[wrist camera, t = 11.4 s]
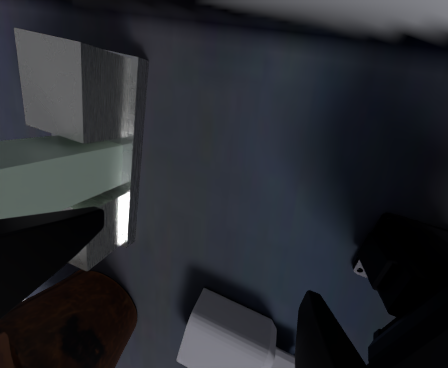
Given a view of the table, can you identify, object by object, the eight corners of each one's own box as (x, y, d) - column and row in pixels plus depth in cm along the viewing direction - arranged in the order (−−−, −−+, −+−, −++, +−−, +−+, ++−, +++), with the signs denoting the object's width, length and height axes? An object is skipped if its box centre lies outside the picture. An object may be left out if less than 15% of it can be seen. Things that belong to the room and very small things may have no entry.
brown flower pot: (46, 299, 39) (-130, 437, 22) (74, 227, 31) (-171, 361, 14) (124, 361, 38) (2, 549, 22) (173, 304, 30) (37, 536, 14)
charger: (294, 382, 28) (190, 329, 30) (325, 339, 24) (205, 283, 27) (295, 432, 24) (174, 365, 26) (332, 388, 20) (188, 316, 23)
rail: (148, 60, 20) (88, 39, 14) (134, 241, 28) (92, 276, 22) (79, 45, 22) (0, 20, 16) (84, 220, 29) (32, 248, 23)
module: (122, 145, 22) (-58, 180, 11) (121, 184, 24) (-36, 252, 12) (83, 132, 23) (-121, 153, 12) (84, 171, 25) (-93, 222, 13)
